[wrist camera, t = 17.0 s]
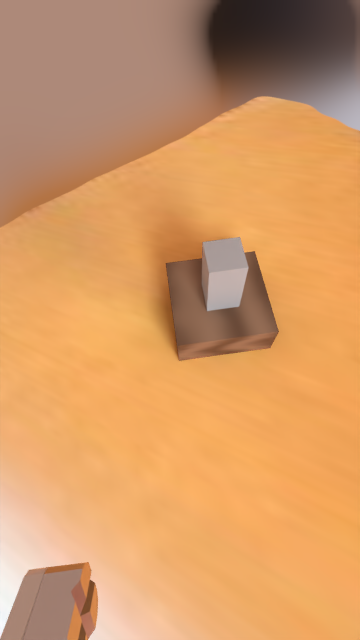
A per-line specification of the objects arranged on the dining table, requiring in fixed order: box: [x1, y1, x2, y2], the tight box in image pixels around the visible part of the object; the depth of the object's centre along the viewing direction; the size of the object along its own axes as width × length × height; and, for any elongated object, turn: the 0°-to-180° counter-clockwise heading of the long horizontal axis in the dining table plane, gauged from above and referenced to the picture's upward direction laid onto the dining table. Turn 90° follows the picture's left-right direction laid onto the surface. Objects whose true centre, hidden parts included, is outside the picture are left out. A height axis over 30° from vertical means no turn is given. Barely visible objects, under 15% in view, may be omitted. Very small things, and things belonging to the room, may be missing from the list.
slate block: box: [202, 237, 248, 311], centre depth 37 cm, size 4×4×8 cm
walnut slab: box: [166, 251, 279, 361], centre depth 43 cm, size 12×12×5 cm
